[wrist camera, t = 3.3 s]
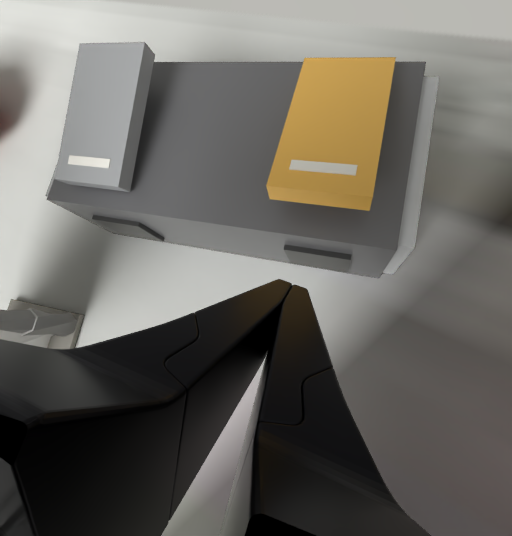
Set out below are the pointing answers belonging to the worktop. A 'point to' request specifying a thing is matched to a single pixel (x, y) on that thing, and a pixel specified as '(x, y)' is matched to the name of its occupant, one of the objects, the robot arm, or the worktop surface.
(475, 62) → the worktop surface
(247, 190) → the grey switch box
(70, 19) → the worktop surface
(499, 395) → the worktop surface
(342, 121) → the rocker outlet
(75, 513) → the robot arm
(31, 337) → the skyscraper
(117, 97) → the rocker outlet
